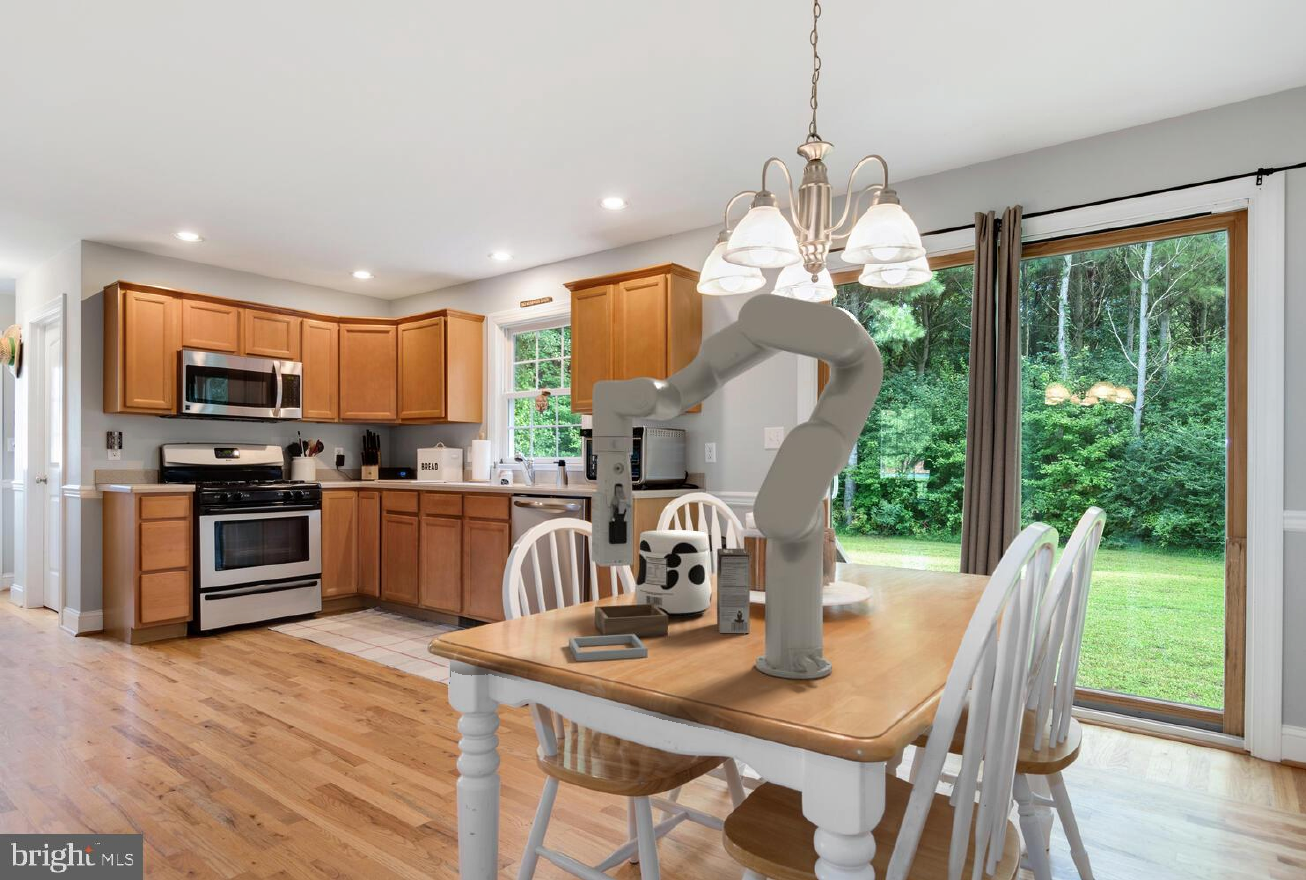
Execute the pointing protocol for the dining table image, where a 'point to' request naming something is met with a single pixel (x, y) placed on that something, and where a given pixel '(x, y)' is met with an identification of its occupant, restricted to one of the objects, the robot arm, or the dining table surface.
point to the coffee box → (733, 590)
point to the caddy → (631, 620)
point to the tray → (580, 655)
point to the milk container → (674, 572)
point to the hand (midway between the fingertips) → (612, 540)
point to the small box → (600, 534)
